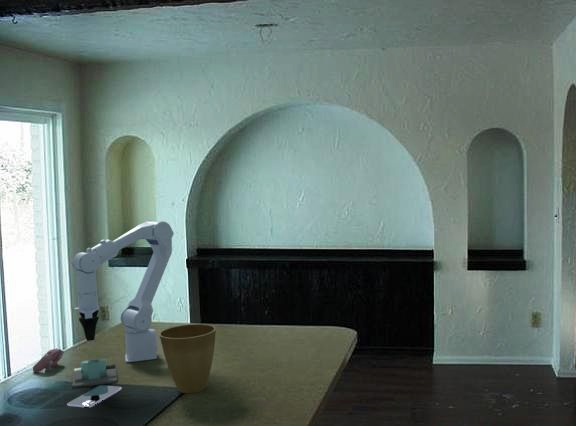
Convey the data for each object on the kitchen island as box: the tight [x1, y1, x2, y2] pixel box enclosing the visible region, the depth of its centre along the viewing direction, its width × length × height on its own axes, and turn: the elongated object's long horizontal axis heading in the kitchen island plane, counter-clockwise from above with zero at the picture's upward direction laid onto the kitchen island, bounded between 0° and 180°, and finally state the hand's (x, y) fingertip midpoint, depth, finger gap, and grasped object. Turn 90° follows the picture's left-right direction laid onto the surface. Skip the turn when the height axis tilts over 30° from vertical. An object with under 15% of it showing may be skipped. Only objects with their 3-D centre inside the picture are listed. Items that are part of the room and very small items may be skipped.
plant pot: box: [159, 323, 217, 394], centre depth 177 cm, size 15×15×16 cm
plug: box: [73, 358, 117, 380], centre depth 190 cm, size 11×4×4 cm, turn 106°
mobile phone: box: [66, 384, 123, 408], centre depth 175 cm, size 8×1×15 cm
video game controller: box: [32, 348, 65, 373], centre depth 203 cm, size 10×5×7 cm, turn 169°
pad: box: [71, 368, 118, 389], centre depth 190 cm, size 12×12×1 cm
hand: (90, 337), depth 199 cm, fingers open, 7 cm apart
